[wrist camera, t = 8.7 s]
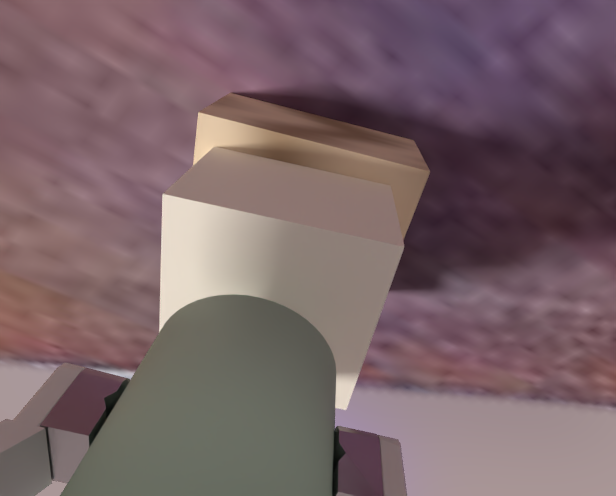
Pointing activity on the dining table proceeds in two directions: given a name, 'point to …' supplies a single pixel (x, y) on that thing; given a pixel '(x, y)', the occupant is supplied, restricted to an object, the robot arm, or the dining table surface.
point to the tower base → (315, 146)
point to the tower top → (283, 246)
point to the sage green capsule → (221, 409)
